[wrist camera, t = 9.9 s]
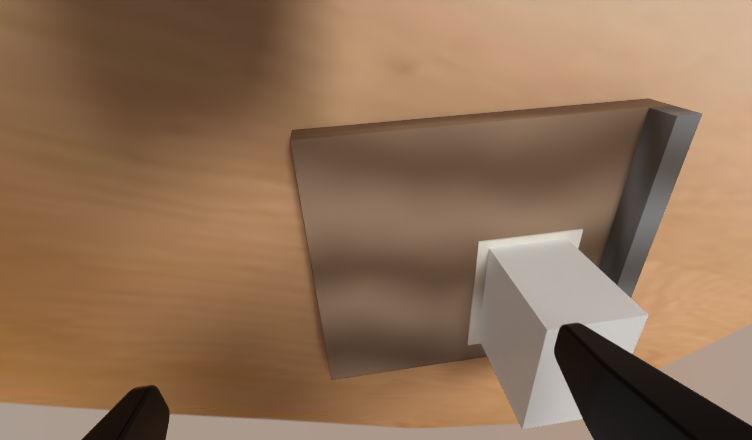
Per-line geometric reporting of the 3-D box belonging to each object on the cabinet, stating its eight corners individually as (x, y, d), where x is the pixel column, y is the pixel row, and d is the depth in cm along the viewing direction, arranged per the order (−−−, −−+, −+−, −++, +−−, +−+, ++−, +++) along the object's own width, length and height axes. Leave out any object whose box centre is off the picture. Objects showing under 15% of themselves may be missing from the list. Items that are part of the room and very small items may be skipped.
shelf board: (292, 130, 17) (287, 152, 15) (652, 98, 19) (706, 113, 16) (330, 361, 25) (332, 402, 23) (581, 324, 27) (610, 359, 24)
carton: (478, 338, 24) (522, 429, 19) (489, 248, 20) (547, 330, 15) (549, 327, 24) (611, 414, 19) (571, 237, 21) (655, 314, 16)
